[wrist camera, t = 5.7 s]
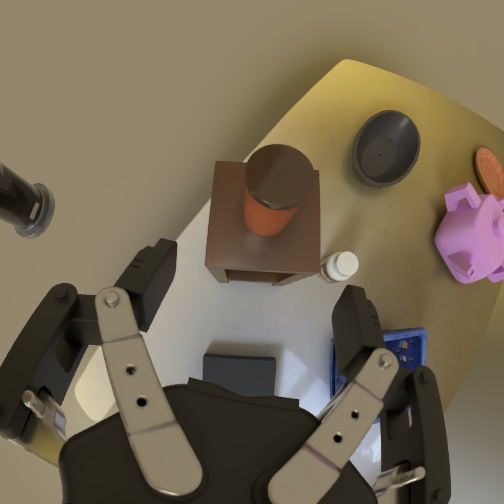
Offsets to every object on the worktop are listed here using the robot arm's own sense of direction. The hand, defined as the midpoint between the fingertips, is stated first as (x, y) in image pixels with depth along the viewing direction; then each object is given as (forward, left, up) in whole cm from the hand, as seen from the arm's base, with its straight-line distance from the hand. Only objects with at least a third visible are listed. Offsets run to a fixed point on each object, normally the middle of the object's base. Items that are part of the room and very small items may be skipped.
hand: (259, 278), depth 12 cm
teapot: (+45, +12, -31) cm, 56 cm away
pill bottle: (+14, +5, -31) cm, 34 cm away
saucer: (+66, +33, -31) cm, 80 cm away
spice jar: (+1, +7, -11) cm, 13 cm away
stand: (+1, +7, -31) cm, 32 cm away
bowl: (+25, +28, -31) cm, 49 cm away
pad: (0, -14, -31) cm, 34 cm away
